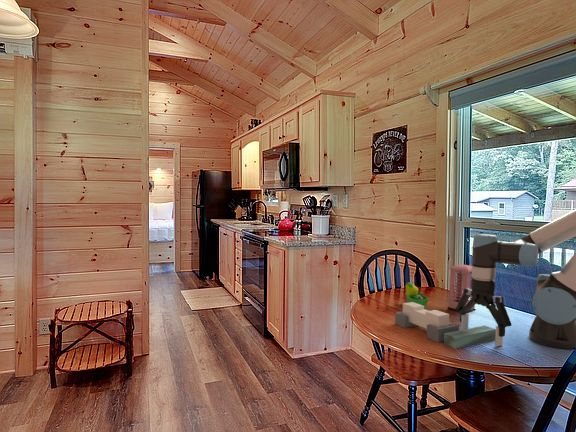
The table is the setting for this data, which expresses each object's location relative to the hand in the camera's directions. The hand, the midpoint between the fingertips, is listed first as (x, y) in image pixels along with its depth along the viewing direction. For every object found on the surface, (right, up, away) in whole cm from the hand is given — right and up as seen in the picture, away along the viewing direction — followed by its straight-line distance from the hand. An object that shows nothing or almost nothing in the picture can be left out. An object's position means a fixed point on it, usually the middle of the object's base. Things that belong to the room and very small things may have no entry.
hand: (480, 338), depth 138 cm
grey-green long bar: (-5, -1, -3) cm, 6 cm away
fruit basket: (-10, +2, +40) cm, 42 cm away
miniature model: (+10, +1, +37) cm, 38 cm away
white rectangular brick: (-17, +2, +8) cm, 19 cm away
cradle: (-17, 0, +8) cm, 19 cm away
